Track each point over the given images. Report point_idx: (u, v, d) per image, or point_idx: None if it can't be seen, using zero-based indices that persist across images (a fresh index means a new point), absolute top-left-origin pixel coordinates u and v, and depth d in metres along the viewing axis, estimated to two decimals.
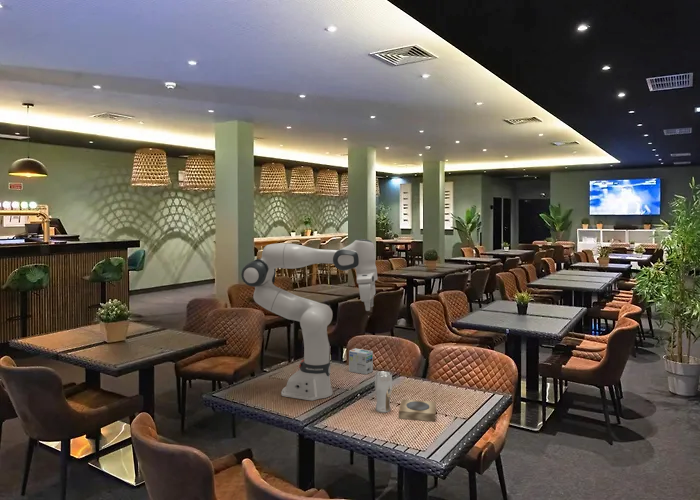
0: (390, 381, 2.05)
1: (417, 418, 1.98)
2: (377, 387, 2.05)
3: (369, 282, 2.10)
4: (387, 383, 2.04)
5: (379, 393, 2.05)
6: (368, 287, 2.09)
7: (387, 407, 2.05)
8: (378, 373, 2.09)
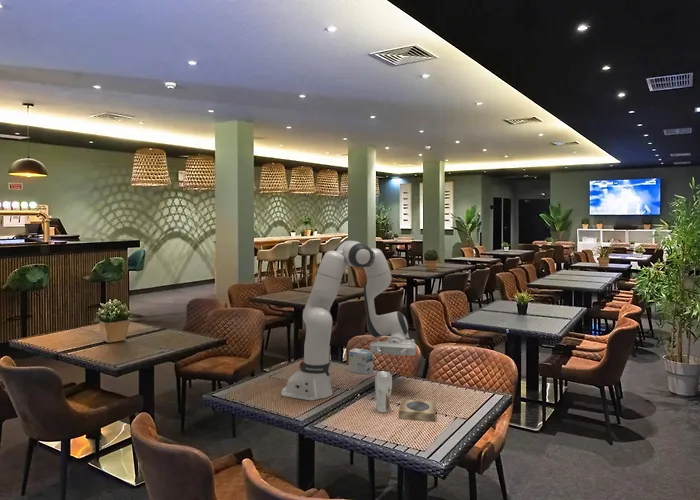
0: (390, 381, 2.05)
1: (417, 418, 1.98)
2: (377, 387, 2.05)
3: None
4: (387, 383, 2.04)
5: (379, 393, 2.05)
6: None
7: (387, 407, 2.05)
8: (378, 373, 2.09)
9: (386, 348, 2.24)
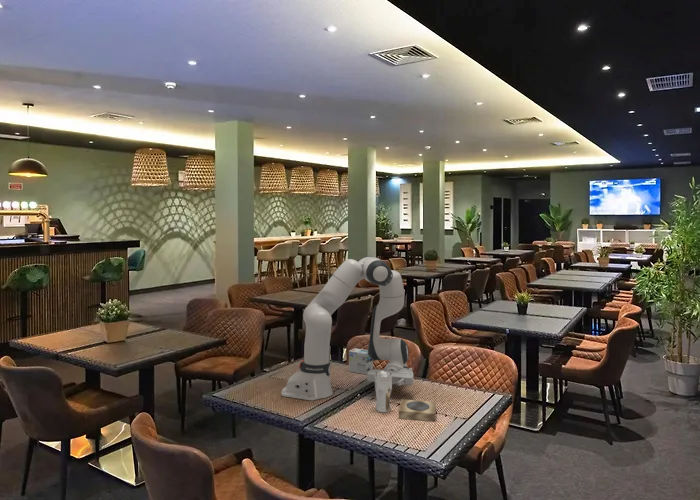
0: (390, 381, 2.05)
1: (417, 418, 1.98)
2: (377, 387, 2.05)
3: None
4: (387, 383, 2.04)
5: (379, 393, 2.05)
6: None
7: (387, 407, 2.05)
8: (378, 373, 2.09)
9: None
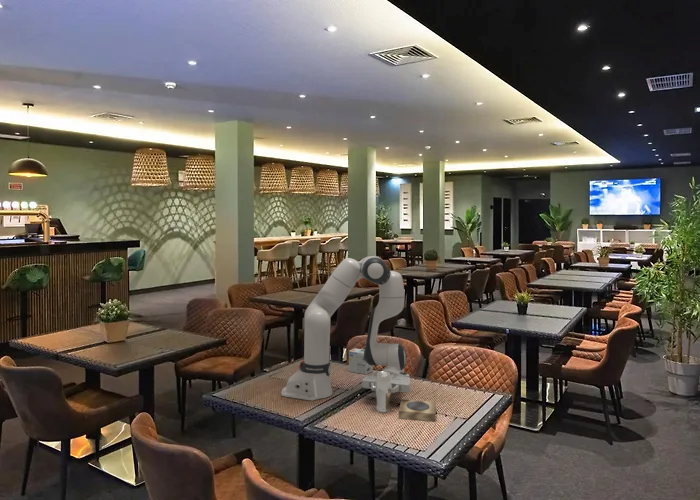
0: (390, 381, 2.05)
1: (417, 418, 1.98)
2: (377, 387, 2.05)
3: None
4: (387, 383, 2.04)
5: (379, 393, 2.05)
6: None
7: (387, 407, 2.05)
8: (378, 373, 2.09)
9: None
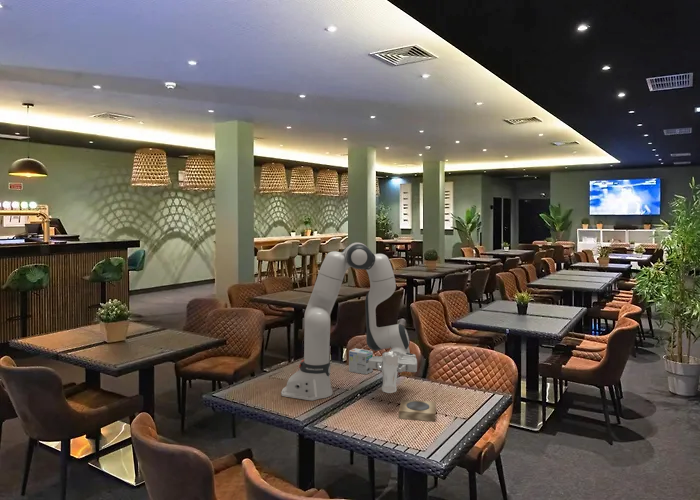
0: (397, 361, 2.04)
1: (417, 418, 1.98)
2: (384, 367, 2.04)
3: None
4: (394, 363, 2.03)
5: (385, 373, 2.04)
6: None
7: (393, 387, 2.04)
8: (385, 353, 2.08)
9: None
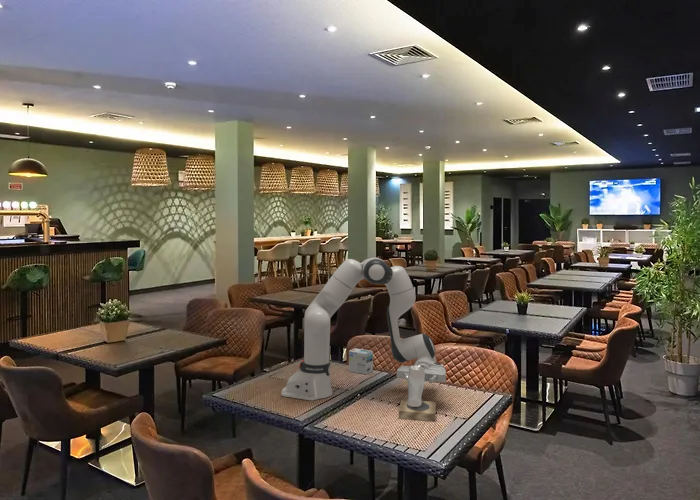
0: (423, 375, 2.02)
1: (417, 418, 1.98)
2: (410, 381, 2.02)
3: None
4: (420, 377, 2.01)
5: (412, 387, 2.02)
6: None
7: (419, 402, 2.02)
8: (411, 367, 2.06)
9: None
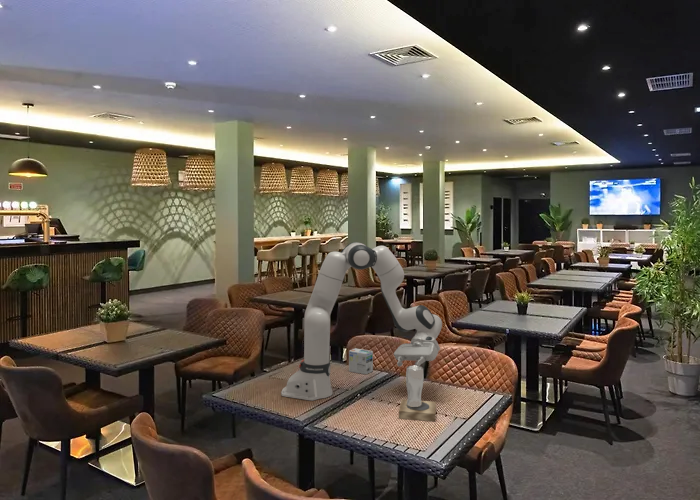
0: (422, 375, 2.02)
1: (417, 418, 1.98)
2: (408, 381, 2.02)
3: (437, 349, 2.21)
4: (419, 377, 2.01)
5: (410, 388, 2.02)
6: (437, 352, 2.19)
7: (419, 402, 2.02)
8: (409, 367, 2.06)
9: (408, 355, 2.23)
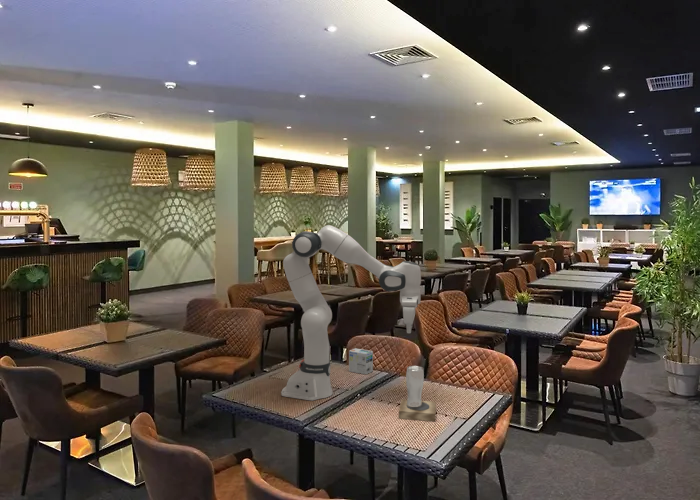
0: (422, 376, 2.01)
1: (417, 418, 1.98)
2: (409, 382, 2.01)
3: (414, 306, 2.12)
4: (419, 378, 2.00)
5: (411, 388, 2.01)
6: (412, 311, 2.12)
7: (419, 402, 2.02)
8: (409, 368, 2.06)
9: None
